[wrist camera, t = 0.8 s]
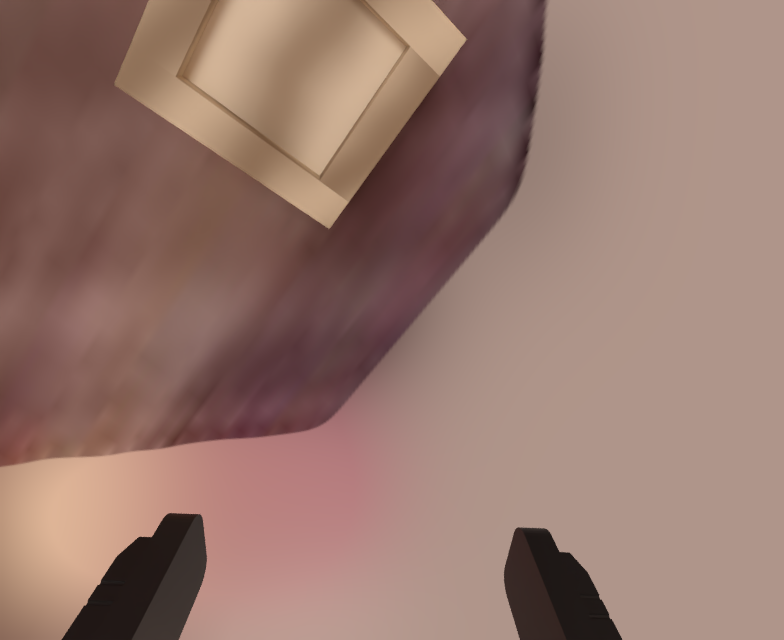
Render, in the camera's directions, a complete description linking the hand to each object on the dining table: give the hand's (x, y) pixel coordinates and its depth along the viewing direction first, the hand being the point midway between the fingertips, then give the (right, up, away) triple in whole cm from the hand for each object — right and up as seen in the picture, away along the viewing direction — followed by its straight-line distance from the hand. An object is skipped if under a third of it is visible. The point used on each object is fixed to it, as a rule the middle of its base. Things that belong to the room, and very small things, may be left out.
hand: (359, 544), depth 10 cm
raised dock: (-5, +23, +17) cm, 29 cm away
